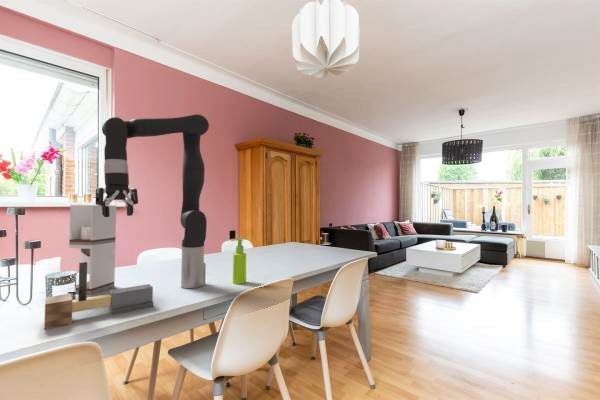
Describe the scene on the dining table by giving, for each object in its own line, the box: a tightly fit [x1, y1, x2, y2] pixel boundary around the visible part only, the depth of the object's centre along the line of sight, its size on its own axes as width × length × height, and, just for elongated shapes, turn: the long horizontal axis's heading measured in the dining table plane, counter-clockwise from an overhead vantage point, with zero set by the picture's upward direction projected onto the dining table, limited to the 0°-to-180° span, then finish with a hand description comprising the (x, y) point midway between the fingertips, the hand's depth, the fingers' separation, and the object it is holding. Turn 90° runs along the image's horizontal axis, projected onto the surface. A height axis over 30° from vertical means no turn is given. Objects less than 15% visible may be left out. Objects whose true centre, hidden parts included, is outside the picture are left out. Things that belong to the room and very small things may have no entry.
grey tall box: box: [68, 204, 117, 295], centre depth 119 cm, size 11×11×35 cm
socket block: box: [43, 293, 73, 330], centre depth 85 cm, size 6×8×7 cm
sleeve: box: [108, 283, 154, 316], centre depth 97 cm, size 12×7×6 cm, turn 131°
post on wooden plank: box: [72, 262, 112, 314], centre depth 90 cm, size 18×3×14 cm, turn 131°
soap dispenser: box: [230, 238, 247, 285], centre depth 131 cm, size 6×7×20 cm
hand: (118, 216), depth 105 cm, fingers open, 8 cm apart
